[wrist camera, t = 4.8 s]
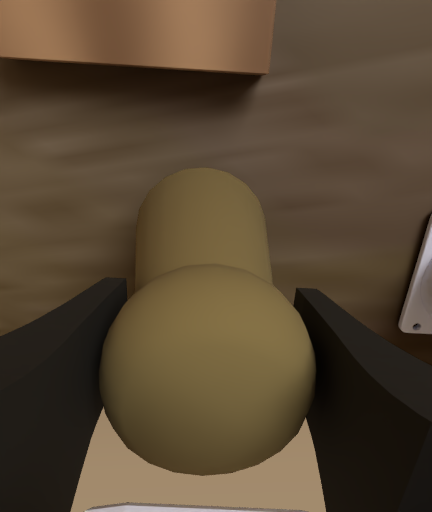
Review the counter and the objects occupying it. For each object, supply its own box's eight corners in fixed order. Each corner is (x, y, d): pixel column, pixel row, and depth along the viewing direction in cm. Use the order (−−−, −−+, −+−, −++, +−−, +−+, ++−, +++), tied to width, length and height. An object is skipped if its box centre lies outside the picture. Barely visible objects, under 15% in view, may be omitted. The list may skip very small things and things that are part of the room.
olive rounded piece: (253, 152, 16) (345, 267, 6) (274, 273, 19) (364, 489, 9) (118, 184, 17) (6, 341, 7) (157, 299, 19) (117, 537, 9)
